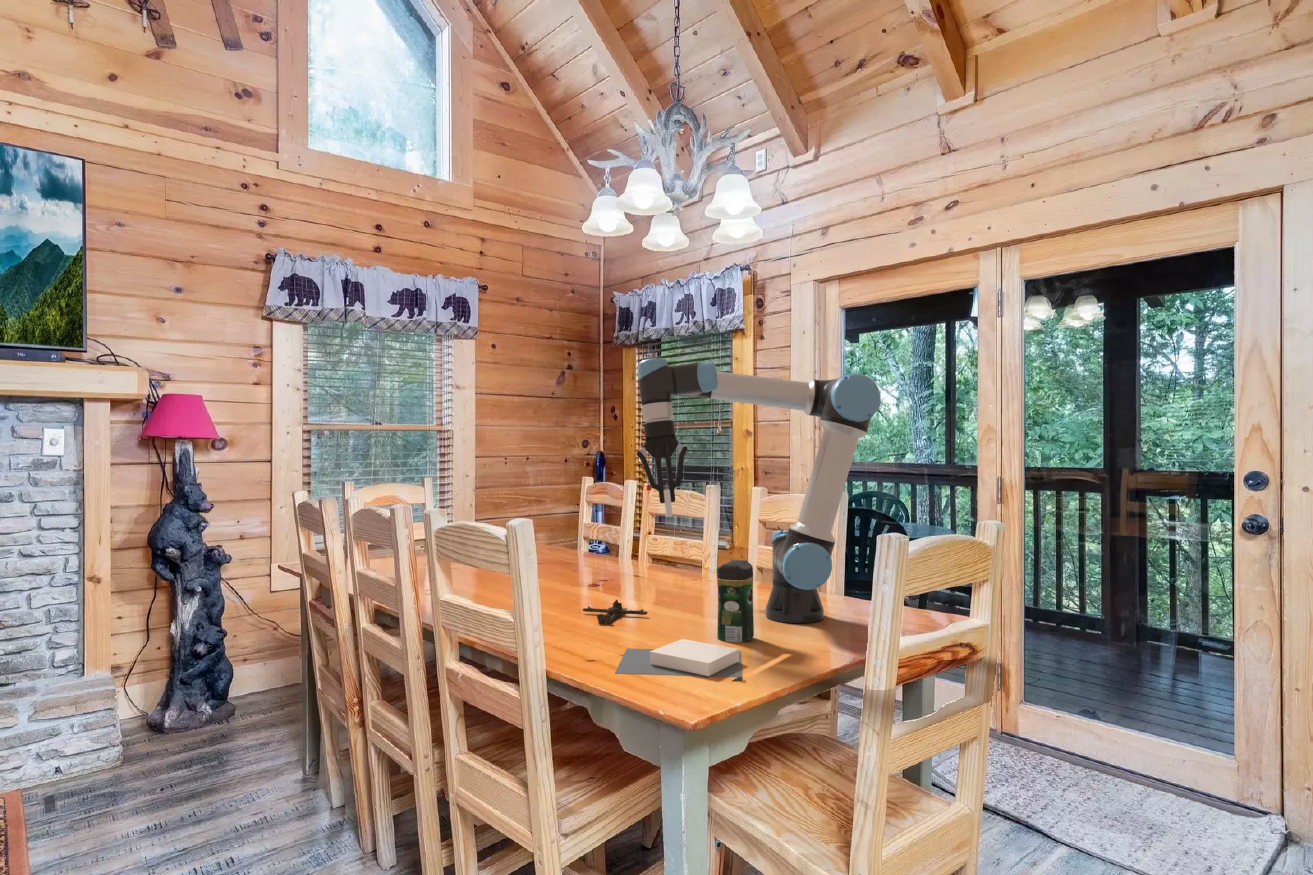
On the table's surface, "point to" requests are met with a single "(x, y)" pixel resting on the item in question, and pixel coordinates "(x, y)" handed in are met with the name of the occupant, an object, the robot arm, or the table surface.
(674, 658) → the tile
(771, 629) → the table surface
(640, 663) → the mat
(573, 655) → the table surface
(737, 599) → the coffee jar
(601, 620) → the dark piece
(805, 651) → the table surface
